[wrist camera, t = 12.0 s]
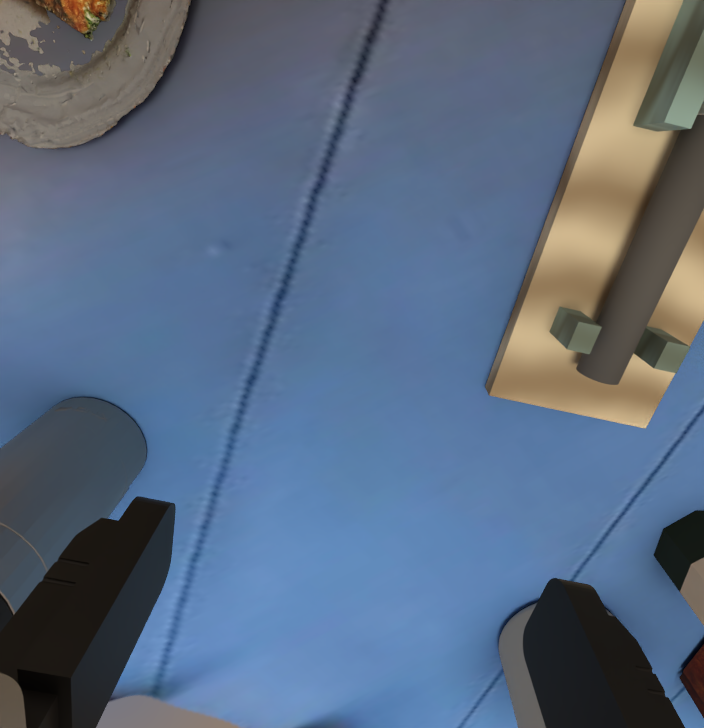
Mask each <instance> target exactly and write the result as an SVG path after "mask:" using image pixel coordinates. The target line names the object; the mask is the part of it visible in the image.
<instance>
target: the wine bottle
mask: <svg viewBox="0 0 704 728" xmlns="http://www.w3.org/2000/svg"><path fill="white" fill-rule="evenodd" d="M654 556H655V558H656V559H657V560H658V562H659V563H660V565H661V566H662V568H663V569H664V570H665V572H666V573H667V575H668V576H669V577H670V579H671V580H672V582H673V583H674V584H675V586H676V587H677V589H678V590H679V591H680V593H681V594H682V596H683V597H684V599H685V600H686V601H687V603H688V604H689V606H690V607H691V608H692V610H693V611H694V613H695V614H696V615H697V617H698V618H699V620H700V621H701V622H702V624H703V625H704V511H694V512H693V513H691V514H689V515H687V516H686V517H684V518H682V519H680V520H678V521H677V522H675V523H673V524H671V525H670V526H668V527H666V528H664V529H663V532H662V534H661V537H660V540H659V543H658V545H657V548H656V551H655V554H654Z"/></svg>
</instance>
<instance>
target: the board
mask: <svg viewBox="0 0 704 728" xmlns="http://www.w3.org/2000/svg"><path fill="white" fill-rule="evenodd" d="M703 101H704V0H626V3H625V5H624V8H623V11H622V13H621V16H620V19H619V22H618V24H617V27H616V30H615V33H614V35H613V38H612V41H611V44H610V46H609V49H608V52H607V55H606V57H605V60H604V63H603V65H602V68H601V71H600V74H599V76H598V79H597V82H596V85H595V87H594V90H593V93H592V96H591V98H590V101H589V104H588V107H587V109H586V112H585V115H584V117H583V120H582V123H581V126H580V128H579V131H578V134H577V137H576V139H575V142H574V145H573V148H572V150H571V153H570V156H569V159H568V161H567V164H566V167H565V169H564V172H563V175H562V178H561V180H560V183H559V186H558V189H557V191H556V194H555V197H554V200H553V202H552V205H551V208H550V210H549V213H548V216H547V219H546V221H545V224H544V227H543V230H542V232H541V235H540V238H539V241H538V243H537V246H536V249H535V252H534V254H533V257H532V260H531V262H530V265H529V268H528V271H527V273H526V276H525V279H524V282H523V284H522V287H521V290H520V293H519V295H518V298H517V301H516V304H515V306H514V309H513V312H512V314H511V317H510V320H509V323H508V325H507V328H506V331H505V334H504V336H503V339H502V342H501V345H500V347H499V350H498V353H497V356H496V358H495V361H494V364H493V366H492V369H491V372H490V375H489V377H488V380H487V383H486V386H485V388H486V390H487V392H488V394H489V395H490V396H495V397H499V398H504V399H509V400H514V401H518V402H523V403H528V404H532V405H537V406H542V407H546V408H551V409H556V410H561V411H565V412H570V413H575V414H579V415H584V416H589V417H594V418H598V419H603V420H608V421H612V422H617V423H622V424H627V425H631V426H636V427H641V428H645V429H646V427H647V425H648V423H649V421H650V419H651V417H652V416H653V414H654V412H655V410H656V408H657V406H658V404H659V403H660V401H661V399H662V397H663V395H664V393H665V391H666V389H667V388H668V386H669V384H670V382H671V380H672V378H673V376H674V375H675V373H677V371H678V369H679V367H680V365H681V363H682V362H683V360H684V358H685V356H686V354H687V352H688V350H689V349H690V345H691V343H692V341H693V339H694V337H695V335H696V334H697V332H698V330H699V328H700V326H701V324H702V322H703V320H704V209H703V211H702V213H701V215H700V218H699V220H698V222H697V224H696V226H695V228H694V230H693V232H692V234H691V236H690V238H689V240H688V242H687V244H686V246H685V248H684V250H683V252H682V255H681V257H680V259H679V261H678V263H677V265H676V267H675V269H674V271H673V273H672V275H671V277H670V279H669V281H668V283H667V285H666V287H665V289H664V292H663V294H662V296H661V298H660V300H659V302H658V304H657V306H656V308H655V310H654V312H653V314H652V316H651V318H650V320H649V322H648V324H647V326H646V329H645V331H644V333H643V335H642V337H641V339H640V341H639V343H638V345H637V347H636V349H635V351H634V353H633V355H632V357H631V359H630V361H629V363H628V366H627V368H626V370H625V372H624V374H623V376H622V378H621V380H620V382H619V384H618V385H609V384H604V383H600V382H597V381H595V380H592V379H590V378H588V377H586V376H584V375H582V374H581V373H579V372H578V371H577V369H576V367H577V365H578V362H579V360H580V358H581V355H582V353H585V354H590V352H591V350H592V348H593V346H594V343H595V341H596V339H597V337H598V335H599V332H600V330H601V328H602V327H601V326H600V325H599V324H597V323H596V321H597V319H598V317H599V315H600V312H601V310H602V308H603V305H604V303H605V301H606V299H607V296H608V294H609V292H610V290H611V287H612V285H613V283H614V281H615V278H616V276H617V274H618V271H619V269H620V267H621V265H622V262H623V260H624V258H625V256H626V253H627V251H628V249H629V246H630V244H631V242H632V240H633V237H634V235H635V233H636V231H637V228H638V226H639V224H640V221H641V219H642V217H643V215H644V212H645V210H646V208H647V206H648V203H649V201H650V199H651V196H652V194H653V192H654V190H655V187H656V185H657V183H658V181H659V178H660V176H661V174H662V172H663V169H664V167H665V165H666V162H667V160H668V158H669V156H670V153H671V151H672V149H673V147H674V144H675V142H676V140H677V137H678V135H679V133H680V131H681V130H683V129H691V128H692V125H693V123H694V121H695V119H696V117H697V114H698V112H699V110H700V108H701V105H702V103H703Z"/></svg>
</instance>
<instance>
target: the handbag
mask: <svg viewBox="0 0 704 728" xmlns="http://www.w3.org/2000/svg"><path fill="white" fill-rule="evenodd" d="M680 680H681V681H682V683H683V685H684V686H685V688H686V690H687V691H688V693H689V695H690V696H691V698H692V699H693V701H694V703H695V704H696V706H697V708H698V709H699V711H700V713H701V714H702V716H703V718H704V645H703V646H702V647H701V648H700V650H699V651H698V652H697V654H696V655H695V656H694V657H693V659H692V660H691V661H690V662H689V664H688V665H687V666H686V667H685V669H684V670H683V673H682V675H681V676H680Z"/></svg>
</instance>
